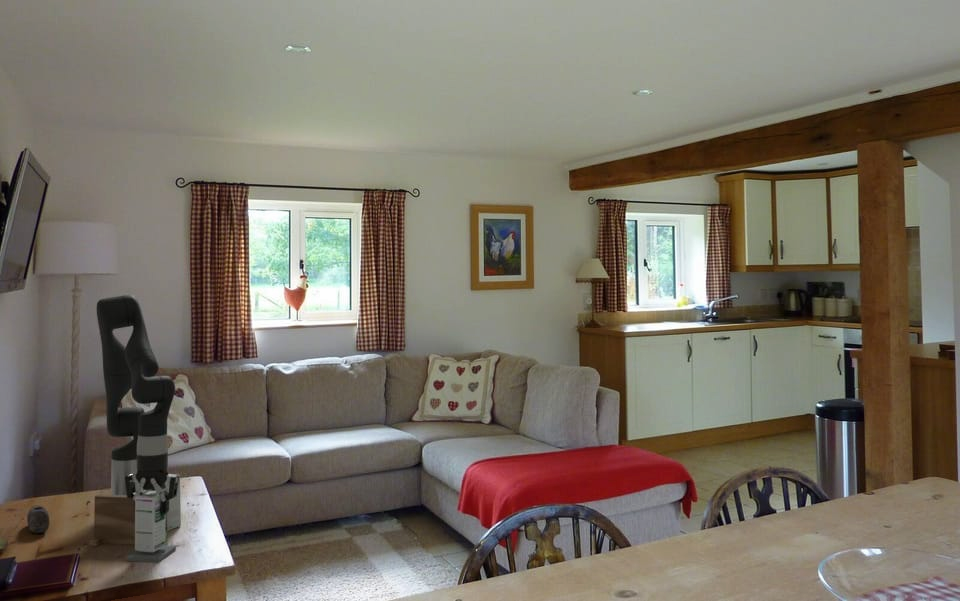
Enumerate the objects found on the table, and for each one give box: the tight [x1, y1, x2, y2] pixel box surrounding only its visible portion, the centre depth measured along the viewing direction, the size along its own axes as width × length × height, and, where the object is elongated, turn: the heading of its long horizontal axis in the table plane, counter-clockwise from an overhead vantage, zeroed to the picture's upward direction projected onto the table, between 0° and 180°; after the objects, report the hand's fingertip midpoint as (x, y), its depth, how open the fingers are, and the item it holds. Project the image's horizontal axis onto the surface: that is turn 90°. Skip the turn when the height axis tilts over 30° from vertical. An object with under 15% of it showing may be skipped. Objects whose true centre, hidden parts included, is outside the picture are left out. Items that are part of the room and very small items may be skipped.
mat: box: [124, 545, 177, 563], centre depth 188 cm, size 9×9×1 cm
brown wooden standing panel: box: [89, 493, 135, 547], centre depth 197 cm, size 6×18×13 cm, turn 86°
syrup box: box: [134, 491, 168, 552], centre depth 188 cm, size 6×6×14 cm
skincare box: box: [144, 473, 182, 532], centre depth 211 cm, size 8×7×16 cm
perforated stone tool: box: [26, 504, 51, 534], centre depth 208 cm, size 15×5×7 cm, turn 36°
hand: (151, 513), depth 188 cm, fingers closed on syrup box, 6 cm apart
